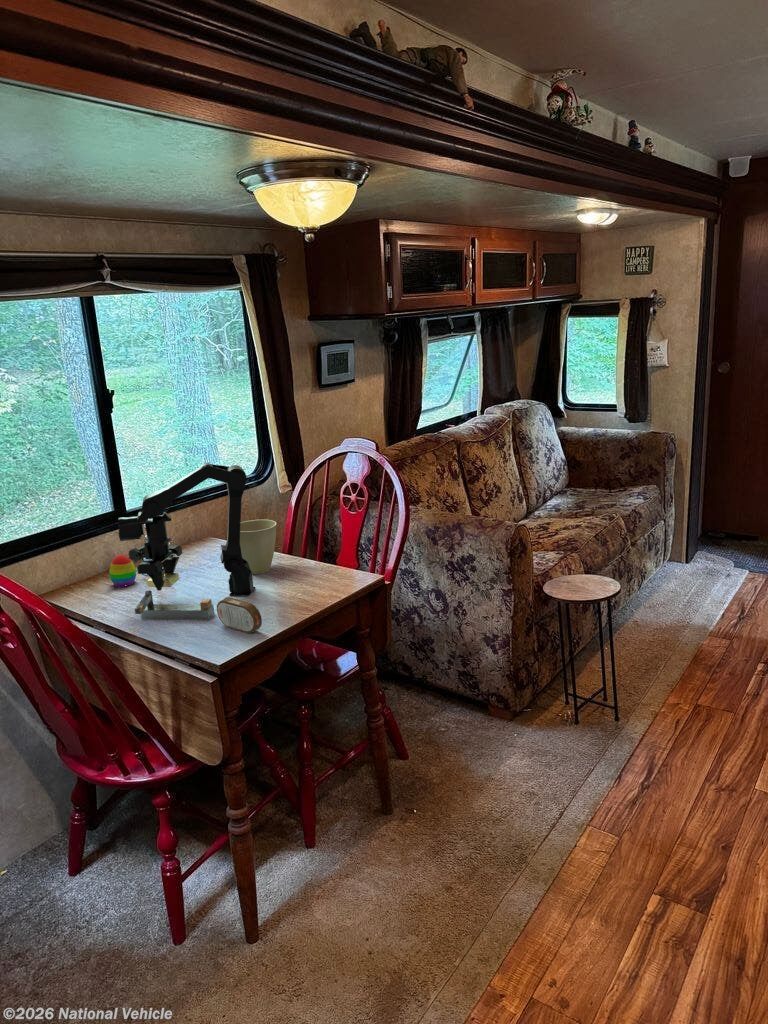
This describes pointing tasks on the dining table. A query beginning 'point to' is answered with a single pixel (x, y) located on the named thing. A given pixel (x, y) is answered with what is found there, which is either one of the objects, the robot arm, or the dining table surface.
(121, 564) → the decorative egg
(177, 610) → the plane body
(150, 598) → the cam lever
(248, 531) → the plant pot
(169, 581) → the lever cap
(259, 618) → the tin
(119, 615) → the dining table surface
